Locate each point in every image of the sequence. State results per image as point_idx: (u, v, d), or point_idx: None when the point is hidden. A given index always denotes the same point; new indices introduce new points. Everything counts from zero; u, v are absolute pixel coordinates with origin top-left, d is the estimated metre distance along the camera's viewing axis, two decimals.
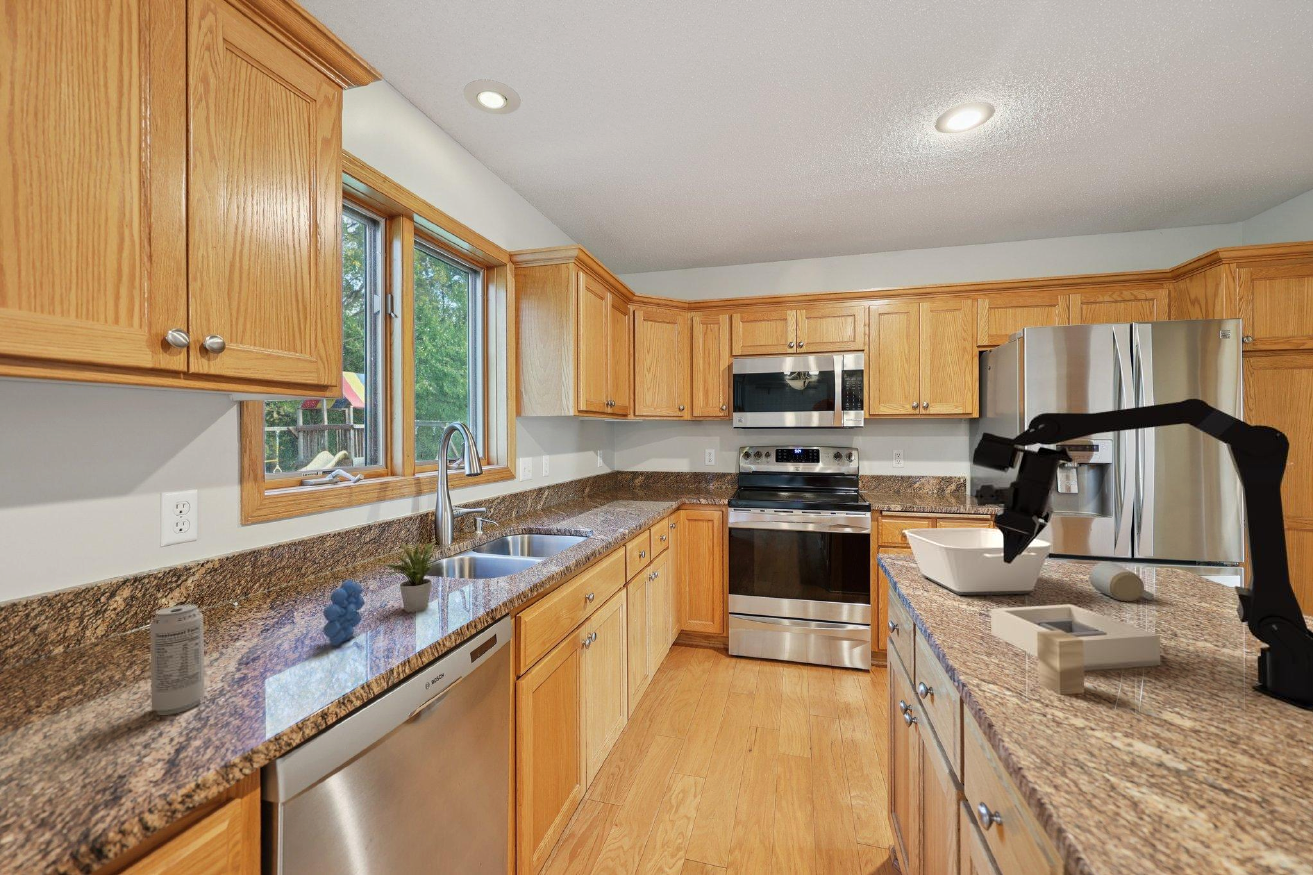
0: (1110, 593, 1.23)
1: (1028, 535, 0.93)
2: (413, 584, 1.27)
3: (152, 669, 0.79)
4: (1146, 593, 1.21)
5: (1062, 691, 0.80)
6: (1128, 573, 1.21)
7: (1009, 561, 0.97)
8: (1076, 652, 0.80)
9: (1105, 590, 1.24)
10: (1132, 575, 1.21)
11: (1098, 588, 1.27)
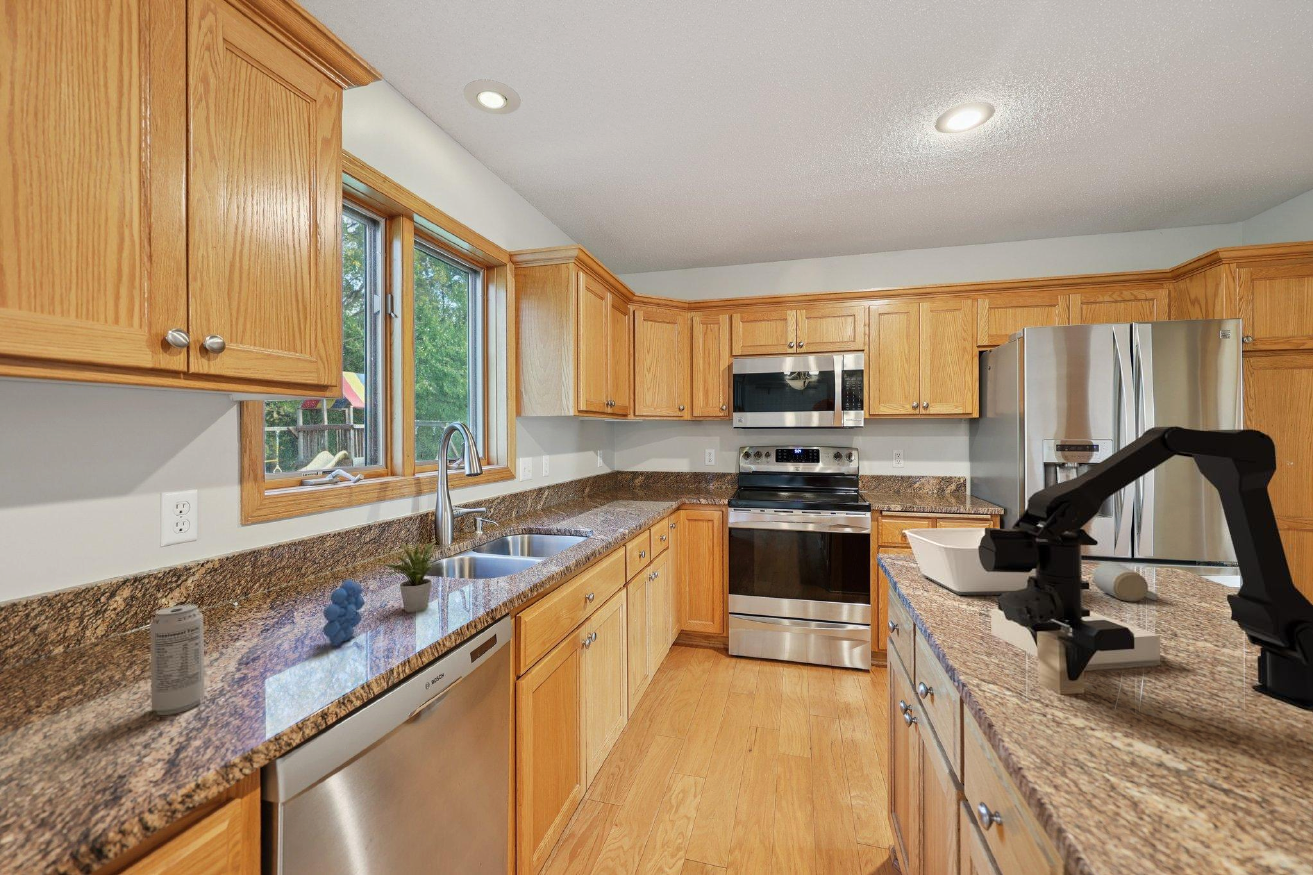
0: (1114, 593, 1.23)
1: None
2: (413, 584, 1.27)
3: (152, 669, 0.79)
4: (1150, 593, 1.21)
5: (1062, 691, 0.80)
6: (1132, 573, 1.21)
7: (1077, 678, 0.79)
8: None
9: (1109, 590, 1.24)
10: (1136, 575, 1.21)
11: (1102, 588, 1.27)
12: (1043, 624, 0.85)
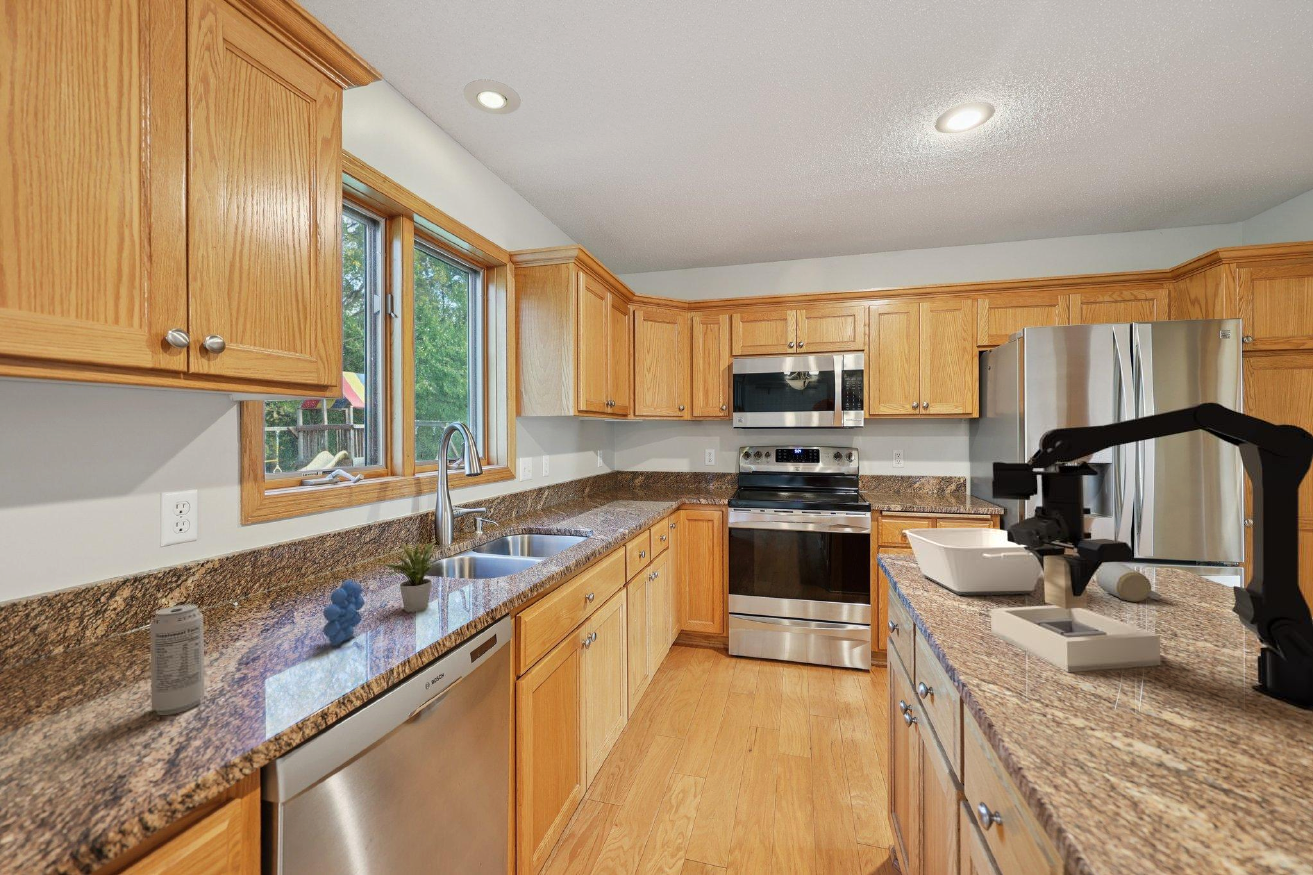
0: (1117, 593, 1.23)
1: None
2: (413, 584, 1.27)
3: (152, 669, 0.79)
4: (1153, 593, 1.21)
5: (1067, 606, 0.89)
6: (1135, 573, 1.21)
7: (1080, 593, 0.89)
8: None
9: (1112, 590, 1.24)
10: (1139, 575, 1.21)
11: (1105, 588, 1.27)
12: (1049, 550, 0.94)
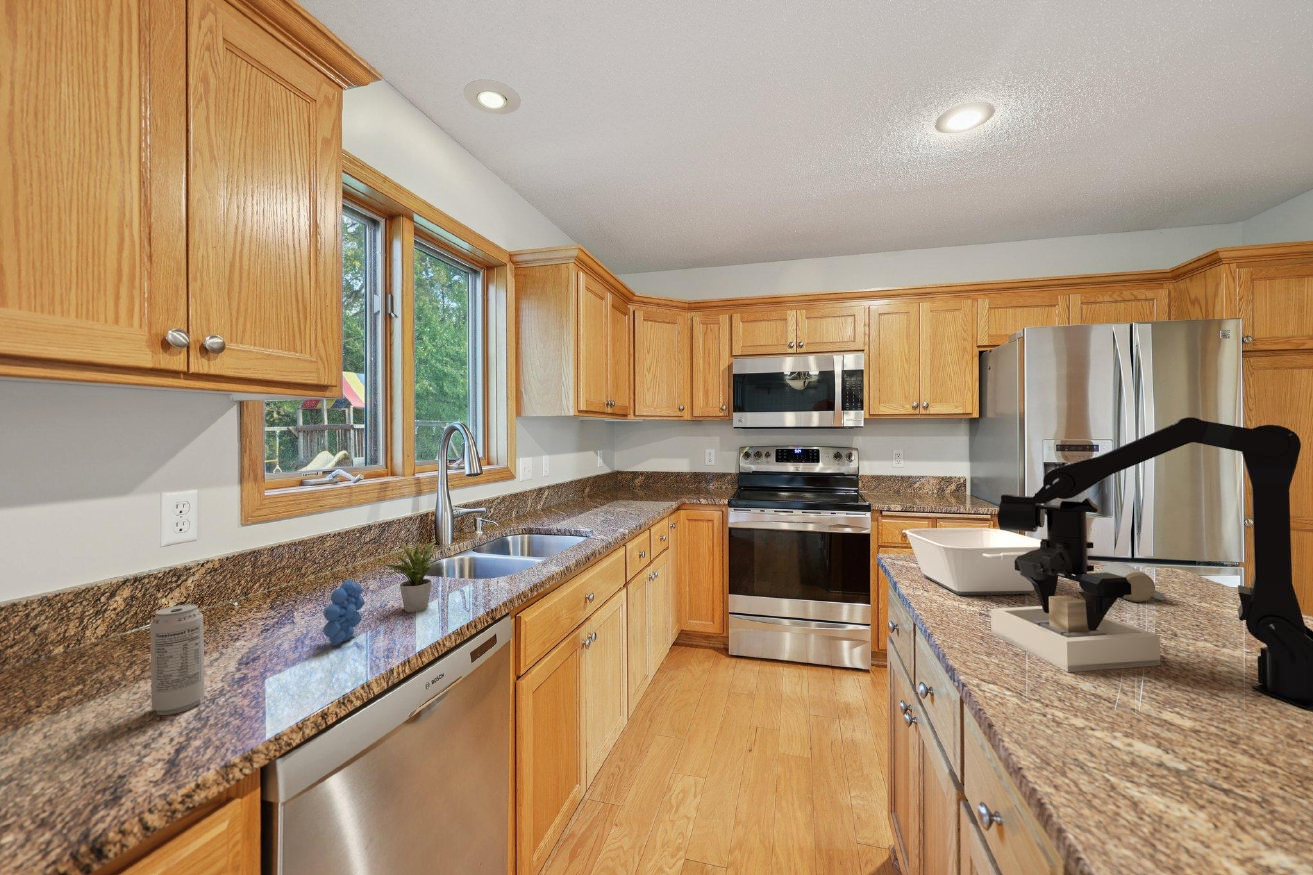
0: None
1: (1123, 596, 0.89)
2: (413, 584, 1.27)
3: (152, 669, 0.79)
4: (1157, 593, 1.21)
5: None
6: (1139, 573, 1.21)
7: (1095, 627, 0.91)
8: (1082, 612, 0.94)
9: None
10: (1143, 575, 1.21)
11: None
12: None
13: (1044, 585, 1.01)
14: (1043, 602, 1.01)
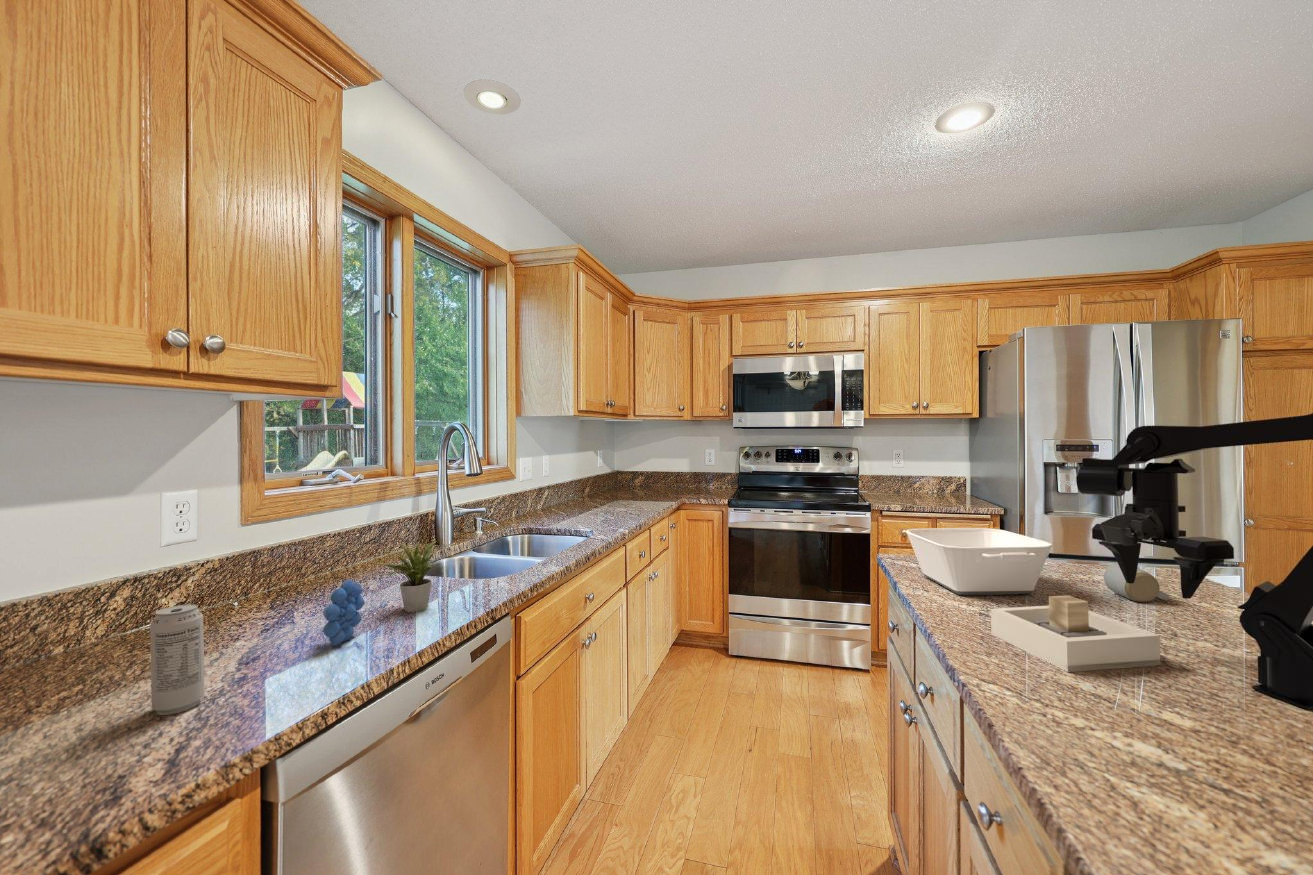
0: (1125, 594, 1.22)
1: (1223, 560, 0.83)
2: (413, 584, 1.27)
3: (152, 669, 0.79)
4: (1162, 594, 1.21)
5: None
6: (1143, 573, 1.21)
7: (1190, 596, 0.86)
8: (1082, 612, 0.94)
9: (1120, 591, 1.24)
10: (1147, 575, 1.20)
11: (1113, 588, 1.27)
12: (1125, 545, 0.96)
13: (1126, 554, 0.95)
14: (1126, 571, 0.95)
